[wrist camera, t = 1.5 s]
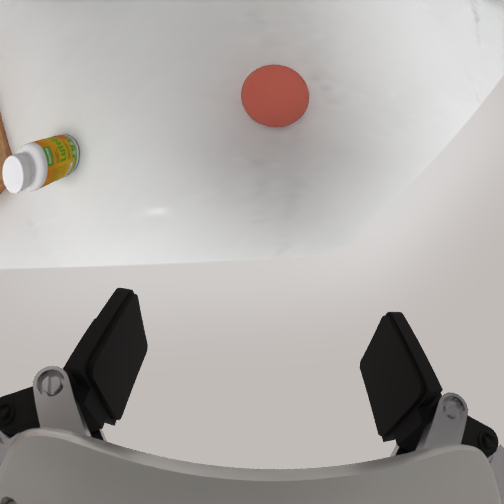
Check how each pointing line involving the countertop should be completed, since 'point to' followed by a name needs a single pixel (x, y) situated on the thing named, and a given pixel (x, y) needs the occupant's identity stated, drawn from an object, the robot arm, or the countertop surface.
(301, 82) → the ball
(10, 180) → the supplement bottle
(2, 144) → the wooden box
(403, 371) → the robot arm
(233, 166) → the countertop surface
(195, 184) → the countertop surface
